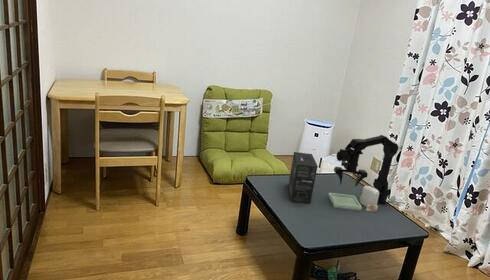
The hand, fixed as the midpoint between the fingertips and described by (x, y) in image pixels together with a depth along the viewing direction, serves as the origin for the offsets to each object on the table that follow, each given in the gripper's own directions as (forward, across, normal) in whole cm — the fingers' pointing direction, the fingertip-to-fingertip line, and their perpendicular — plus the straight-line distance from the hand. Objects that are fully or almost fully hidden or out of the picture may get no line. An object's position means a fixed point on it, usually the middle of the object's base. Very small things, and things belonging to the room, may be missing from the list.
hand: (347, 185), depth 225 cm
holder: (+12, -15, 0) cm, 19 cm away
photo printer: (+12, -15, 0) cm, 19 cm away
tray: (+12, 0, 0) cm, 12 cm away
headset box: (+12, +27, -5) cm, 30 cm away
